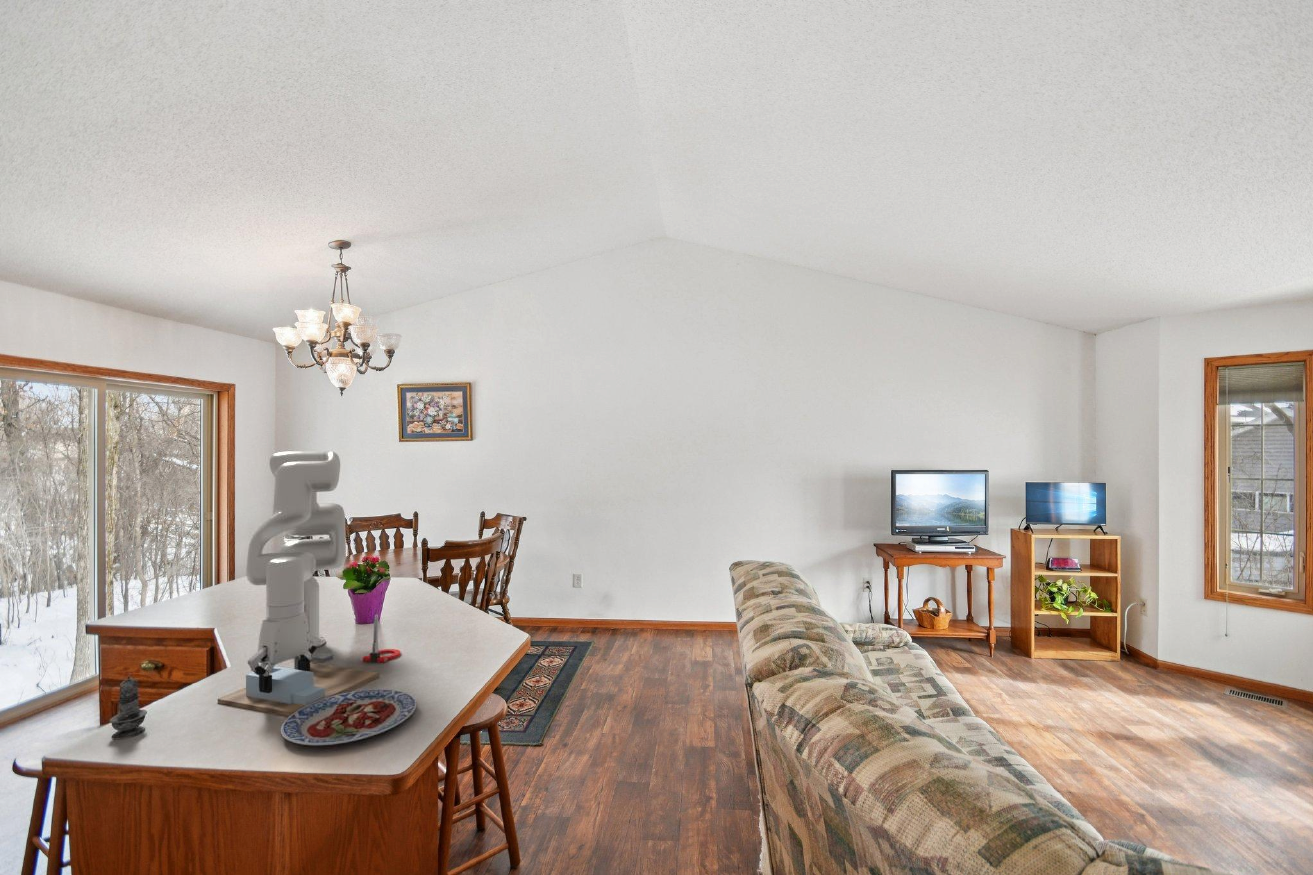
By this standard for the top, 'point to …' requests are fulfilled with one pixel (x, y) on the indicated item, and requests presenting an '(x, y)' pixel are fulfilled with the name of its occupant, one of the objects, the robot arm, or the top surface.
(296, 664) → the bracket
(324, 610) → the top surface
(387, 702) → the ceramic plate
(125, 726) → the grey stone sculpture
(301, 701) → the link
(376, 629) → the tow hook
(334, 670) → the board
